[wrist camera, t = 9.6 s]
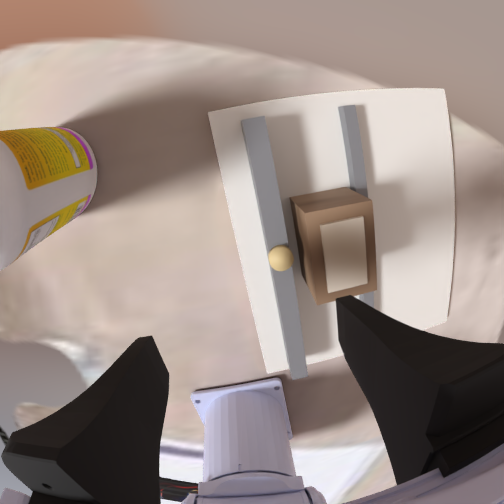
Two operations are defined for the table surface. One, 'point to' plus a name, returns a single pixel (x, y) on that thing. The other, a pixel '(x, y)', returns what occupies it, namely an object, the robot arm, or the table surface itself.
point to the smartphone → (176, 489)
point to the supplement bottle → (41, 185)
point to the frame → (335, 243)
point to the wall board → (331, 177)
